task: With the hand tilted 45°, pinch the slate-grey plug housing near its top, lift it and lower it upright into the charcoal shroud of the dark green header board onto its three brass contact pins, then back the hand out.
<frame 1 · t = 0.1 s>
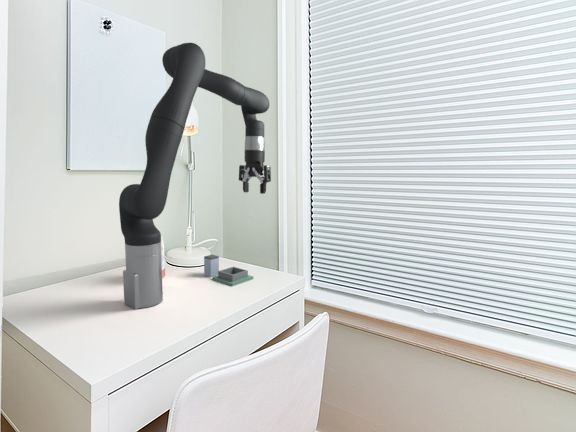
hand: (254, 192, 126), 29 cm above the table, tool pointing down, fingers open, 8 cm apart
plug housing: (211, 275, 119), on the table
ink cartridge box: (153, 280, 113), on the table
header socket: (233, 279, 116), on the table
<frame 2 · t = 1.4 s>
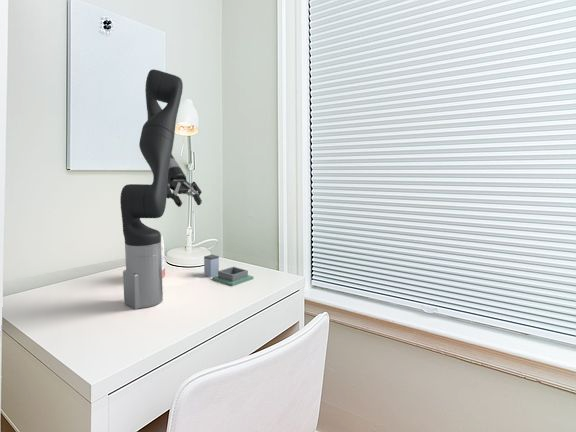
hand: (190, 204, 123), 25 cm above the table, tool tilted 45°, fingers open, 8 cm apart
nothing on the table moved.
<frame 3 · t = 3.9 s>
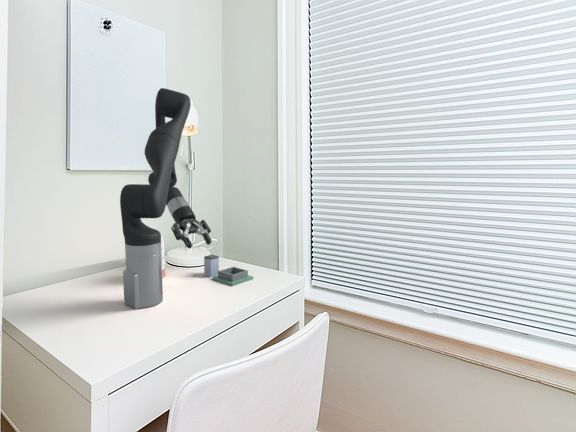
hand: (200, 245, 122), 10 cm above the table, tool tilted 45°, fingers open, 8 cm apart
nothing on the table moved.
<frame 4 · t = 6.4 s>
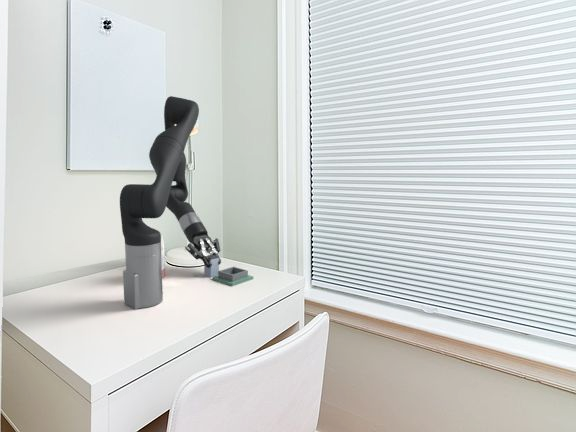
hand: (214, 265, 118), 4 cm above the table, tool tilted 45°, fingers closed on plug housing, 3 cm apart
plug housing: (211, 275, 119), on the table, touching gripper
everything else where it was.
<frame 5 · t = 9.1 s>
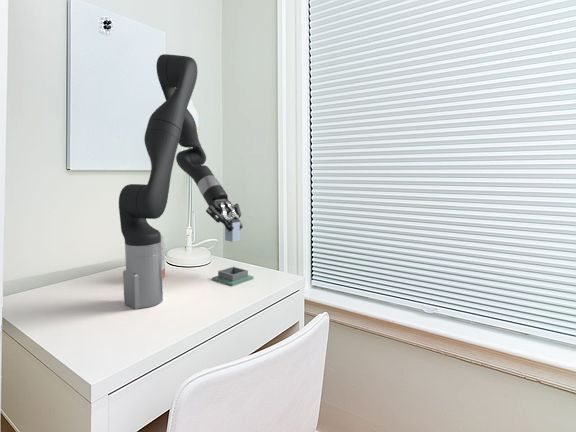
hand: (236, 229, 112), 18 cm above the table, tool tilted 45°, fingers closed on plug housing, 3 cm apart
plug housing: (232, 240, 114), point 14 cm above the table, touching gripper
everything else where it was.
when the fingers open (6 cm above the table, at t = 12.1 s): plug housing drops 1 cm, resting on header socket.
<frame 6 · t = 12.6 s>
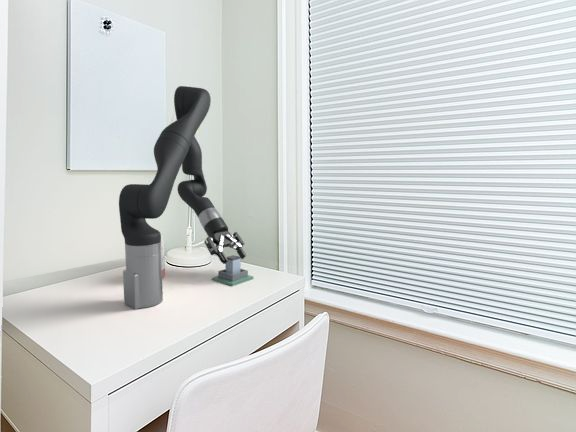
hand: (235, 260, 114), 7 cm above the table, tool tilted 45°, fingers open, 8 cm apart
plug housing: (232, 276, 115), point 1 cm above the table, touching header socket
everything else where it was.
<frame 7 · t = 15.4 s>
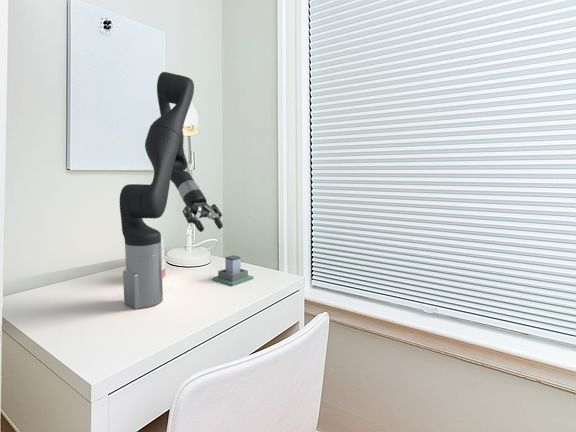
hand: (212, 229, 120), 16 cm above the table, tool tilted 45°, fingers open, 8 cm apart
nothing on the table moved.
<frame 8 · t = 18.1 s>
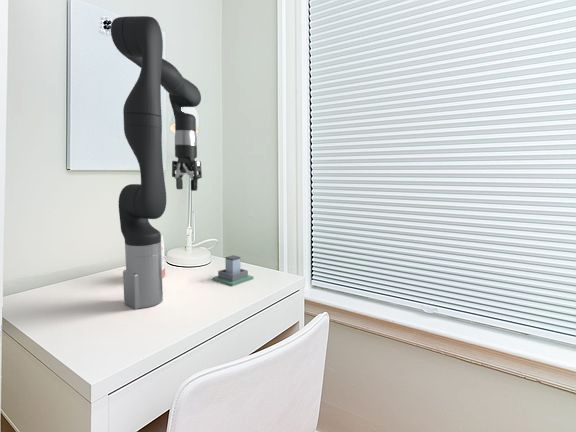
hand: (186, 190, 120), 30 cm above the table, tool pointing down, fingers open, 8 cm apart
nothing on the table moved.
at the end: plug housing 0.0 cm off-centre on the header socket, point 0.9 cm above the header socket's base; plug housing tilted 0°; the gripper is holding nothing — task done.
